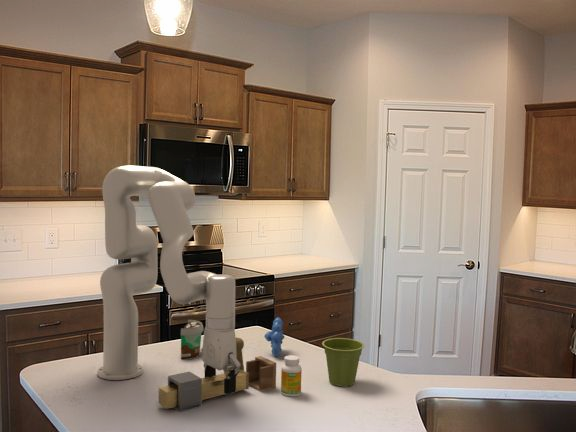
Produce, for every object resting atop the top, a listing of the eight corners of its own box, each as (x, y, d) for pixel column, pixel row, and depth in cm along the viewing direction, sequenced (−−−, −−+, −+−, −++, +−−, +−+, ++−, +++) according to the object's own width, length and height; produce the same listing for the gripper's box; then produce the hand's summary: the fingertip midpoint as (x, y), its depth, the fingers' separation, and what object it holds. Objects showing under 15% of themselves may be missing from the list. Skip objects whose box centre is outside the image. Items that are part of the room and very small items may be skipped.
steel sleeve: (167, 403, 142) (167, 375, 142) (188, 398, 146) (189, 371, 145) (179, 411, 137) (180, 383, 137) (201, 406, 141) (201, 378, 140)
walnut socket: (245, 383, 157) (246, 359, 157) (260, 380, 160) (260, 356, 160) (260, 391, 152) (261, 366, 151) (275, 387, 155) (276, 362, 154)
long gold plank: (158, 403, 139) (158, 387, 139) (239, 384, 154) (240, 369, 154) (166, 409, 136) (166, 392, 136) (248, 388, 151) (248, 373, 151)
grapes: (265, 348, 191) (266, 313, 191) (285, 349, 191) (286, 314, 190) (261, 359, 180) (262, 322, 179) (282, 360, 179) (283, 323, 179)
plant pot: (312, 382, 160) (313, 343, 159) (338, 372, 169) (339, 335, 168) (346, 393, 152) (347, 352, 151) (371, 383, 161) (372, 344, 160)
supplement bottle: (286, 398, 148) (287, 361, 147) (277, 391, 152) (278, 355, 152) (304, 395, 150) (305, 359, 150) (295, 388, 155) (295, 353, 154)
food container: (199, 361, 176) (200, 329, 176) (180, 360, 176) (180, 328, 176) (206, 349, 189) (206, 320, 188) (187, 349, 189) (188, 319, 188)
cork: (241, 380, 160) (242, 341, 160) (220, 378, 161) (221, 340, 161) (247, 373, 166) (247, 336, 166) (227, 371, 167) (228, 334, 167)
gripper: (191, 318, 151) (190, 381, 152) (226, 331, 138) (225, 400, 138) (215, 314, 156) (214, 375, 157) (251, 327, 142) (250, 394, 143)
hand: (219, 387), depth 147 cm, fingers open, 9 cm apart
